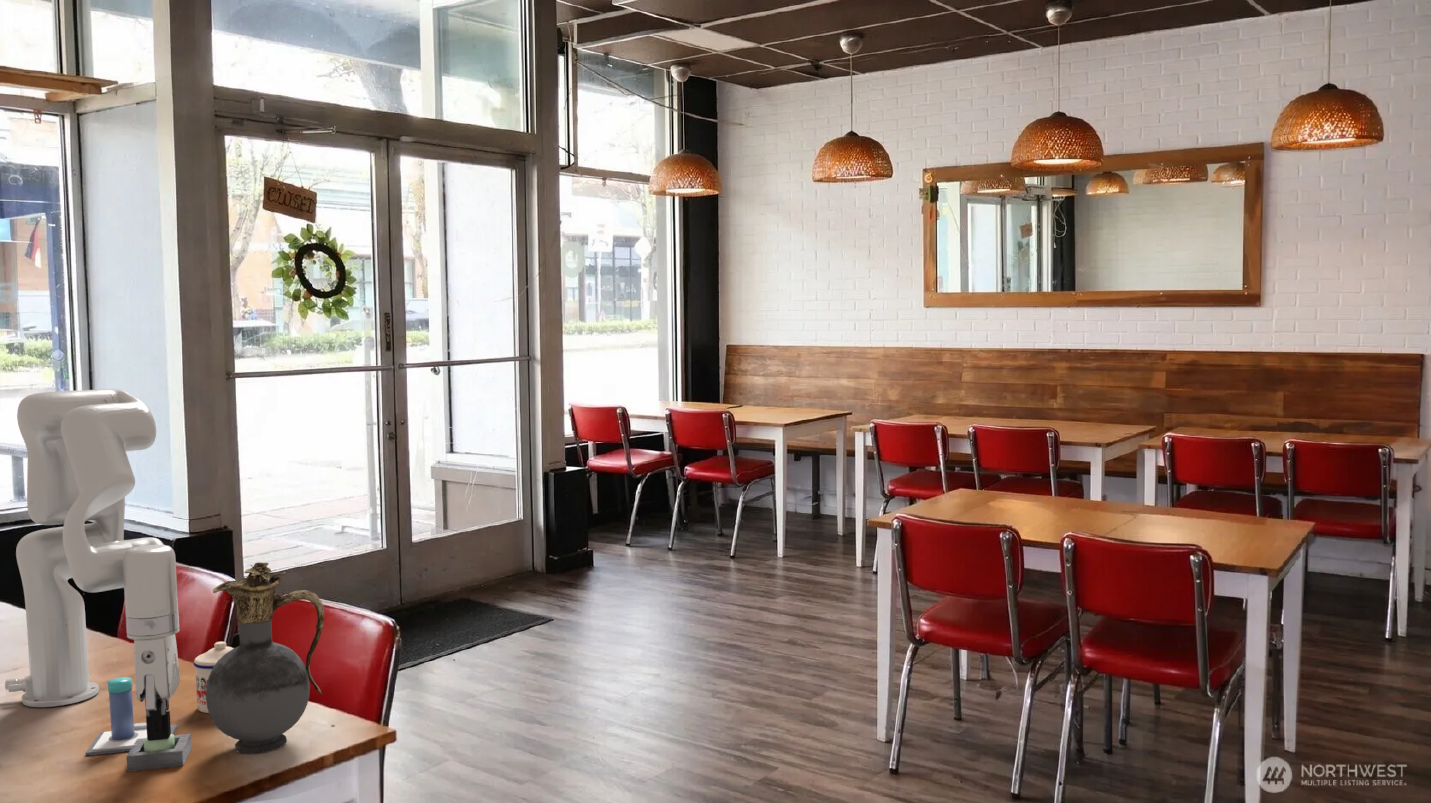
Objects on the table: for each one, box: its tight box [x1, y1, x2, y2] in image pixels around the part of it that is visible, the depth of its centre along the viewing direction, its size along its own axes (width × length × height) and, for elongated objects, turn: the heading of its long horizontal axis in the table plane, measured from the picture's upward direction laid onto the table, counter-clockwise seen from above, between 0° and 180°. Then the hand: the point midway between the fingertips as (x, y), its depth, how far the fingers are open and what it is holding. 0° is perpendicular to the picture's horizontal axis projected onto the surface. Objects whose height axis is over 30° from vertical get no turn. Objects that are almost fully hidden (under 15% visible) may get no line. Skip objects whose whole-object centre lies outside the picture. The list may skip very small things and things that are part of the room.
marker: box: [107, 676, 135, 740], centre depth 199 cm, size 4×4×10 cm
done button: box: [144, 734, 175, 752], centre depth 190 cm, size 4×4×3 cm
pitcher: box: [206, 561, 325, 755], centre depth 195 cm, size 11×19×30 cm, turn 127°
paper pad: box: [85, 722, 178, 757], centre depth 199 cm, size 12×10×1 cm
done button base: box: [126, 733, 192, 773], centre depth 190 cm, size 8×8×2 cm
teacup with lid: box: [193, 641, 235, 714], centre depth 215 cm, size 12×9×12 cm
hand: (159, 738), depth 190 cm, fingers closed
